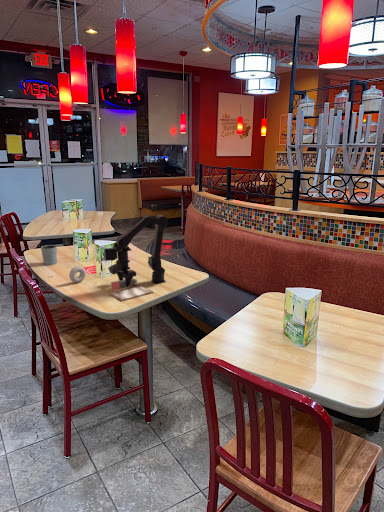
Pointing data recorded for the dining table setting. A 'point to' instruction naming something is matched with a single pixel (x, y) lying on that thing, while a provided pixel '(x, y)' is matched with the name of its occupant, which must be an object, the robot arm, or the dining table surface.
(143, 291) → the picture frame
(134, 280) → the marker
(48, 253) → the gray cup
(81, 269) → the donut
